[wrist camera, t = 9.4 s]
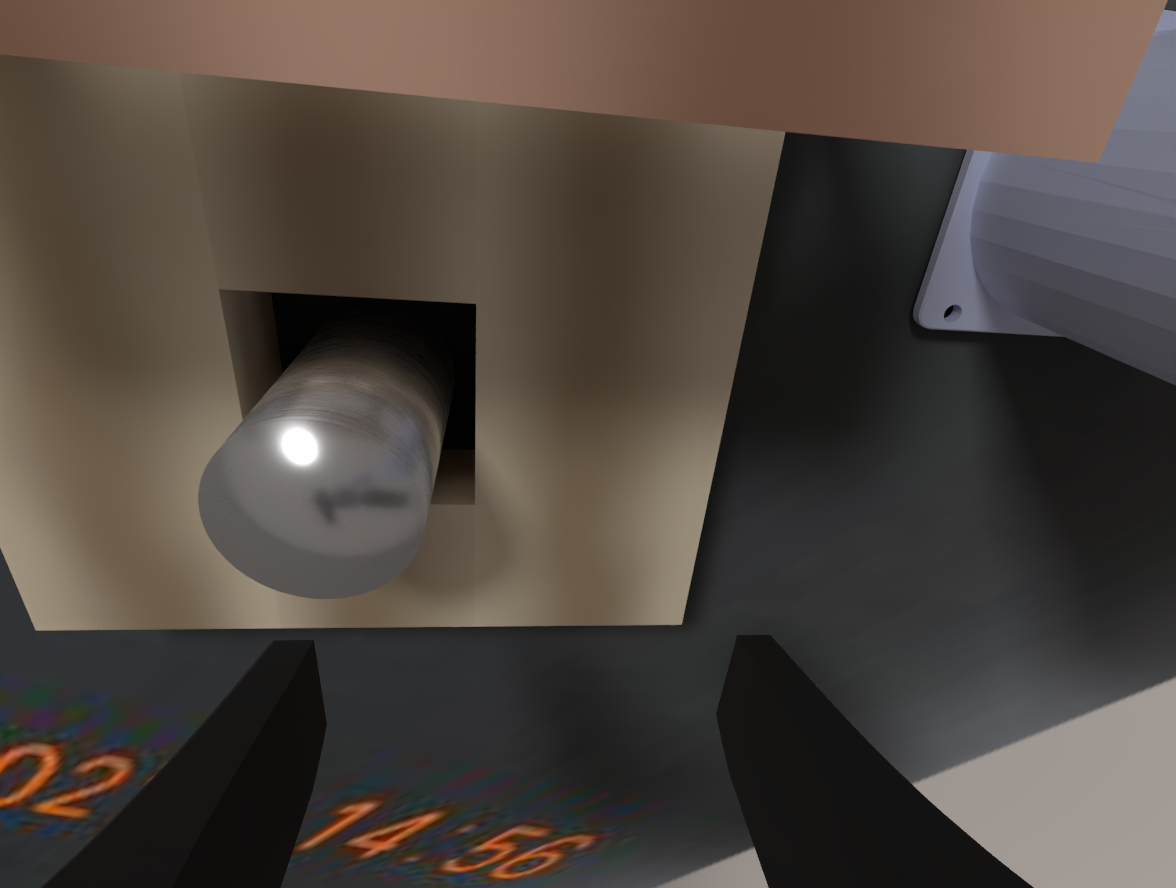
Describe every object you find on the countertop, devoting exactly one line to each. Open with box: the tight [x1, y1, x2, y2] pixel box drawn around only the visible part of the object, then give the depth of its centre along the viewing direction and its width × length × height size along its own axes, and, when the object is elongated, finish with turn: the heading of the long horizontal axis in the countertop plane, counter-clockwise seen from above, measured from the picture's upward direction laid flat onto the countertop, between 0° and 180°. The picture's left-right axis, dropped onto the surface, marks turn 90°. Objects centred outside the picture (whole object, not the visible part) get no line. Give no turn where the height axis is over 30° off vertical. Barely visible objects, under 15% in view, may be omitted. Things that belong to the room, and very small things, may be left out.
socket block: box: [0, 0, 1168, 630], centre depth 12 cm, size 19×20×10 cm
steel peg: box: [198, 305, 455, 599], centre depth 15 cm, size 4×4×7 cm
